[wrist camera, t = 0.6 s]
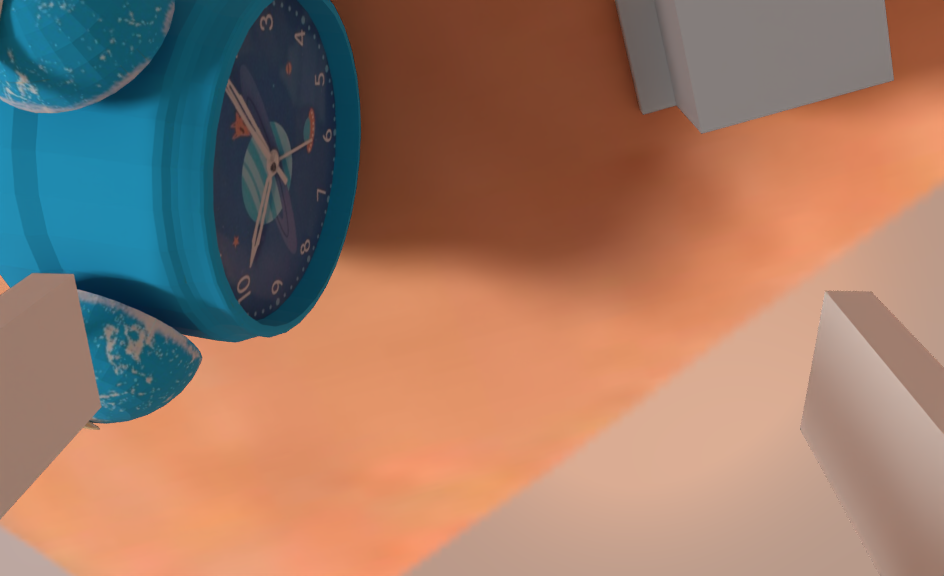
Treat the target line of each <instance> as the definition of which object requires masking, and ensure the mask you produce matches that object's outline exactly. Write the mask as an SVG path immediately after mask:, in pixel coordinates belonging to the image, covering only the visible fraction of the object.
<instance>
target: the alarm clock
mask: <svg viewBox="0 0 944 576" xmlns="http://www.w3.org/2000/svg"><path fill="white" fill-rule="evenodd" d="M360 140H361V118H360V98H359V89H358V79H357V73H356V68H355V63H354V58H353V53H352V49H351V46H350V43H349V40H348V37H347V33H346V30H345V27H344V25H343V23H342V21H341V18H340V16H339V14H338V12H337V10H336V8H335V6H334V5H333V4H332V2H331V1H330V0H0V275H1V276H2V278H3V279H4V280H5V282H6V283H7V284H8V285H9V287H10V288H11V287H13V286H14V285H16V284H17V283H19V282H20V281H22V280H23V279H24V278H26V277H27V276H29V275H30V274H32V273H51V274H74V278H75V283H76V287H77V292H78V297H79V302H80V307H81V311H82V316H83V321H84V326H85V331H86V335H87V340H88V345H89V350H90V355H91V359H92V364H93V369H94V374H95V379H96V384H97V388H98V393H99V398H100V403H101V408H100V409H99V410H98V411H97V412H96V414H95V415H94V416H93V417H92V418H91V419H90V420H89V421H88V422H87V424H86V425H85V426H84V427H83V428H86V429H93V430H99V429H100V428H99V427H98V426H96V425H94V424H93V423H116V422H124V421H130V420H133V419H136V418H139V417H142V416H145V415H148V414H150V413H152V412H154V411H155V410H157V409H159V408H161V407H163V406H164V405H166V404H167V403H169V402H170V401H171V400H172V399H173V398H175V397H176V396H177V395H178V394H179V393H181V392H182V391H183V389H184V388H185V387H186V386H187V384H188V383H189V382H190V381H191V380H192V378H193V377H194V375H195V373H196V371H197V369H198V367H199V365H200V364H201V361H202V356H201V353H200V351H199V350H198V348H197V347H196V346H195V345H194V344H193V343H192V342H191V341H190V340H189V339H187V338H186V337H185V336H184V335H189V336H195V337H200V338H206V339H212V340H217V341H226V342H239V341H243V340H247V339H250V338H254V337H257V336H262V337H272V336H276V335H279V334H282V333H286V332H287V331H289V330H290V329H292V328H293V327H294V326H296V325H297V324H299V323H300V322H301V321H302V320H303V319H304V317H305V316H306V315H307V314H308V313H309V312H310V311H311V309H312V308H313V307H314V306H315V304H316V302H317V301H318V299H319V298H320V296H321V294H322V293H323V291H324V289H325V288H326V286H327V284H328V282H329V280H330V277H331V275H332V273H333V271H334V269H335V267H336V264H337V261H338V259H339V256H340V253H341V250H342V247H343V244H344V242H345V238H346V234H347V230H348V226H349V223H350V219H351V215H352V209H353V204H354V199H355V193H356V188H357V179H358V170H359V161H360ZM182 334H183V335H182Z"/></svg>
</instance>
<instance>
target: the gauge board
mask: <svg viewBox="0 0 944 576" xmlns="http://www.w3.org/2000/svg"><path fill="white" fill-rule="evenodd" d="M615 4H616V8H617V13H618V17H619V21H620V26H621V30H622V34H623V39H624V43H625V47H626V52H627V56H628V60H629V65H630V69H631V73H632V78H633V82H634V86H635V91H636V95H637V100H638V104H639V108H640V111H641V112H642V114H643V115H644V114H648V113H651V112H655V111H658V110H662V109H665V108H669V107H672V106H677V107H678V108H679V109H680V110H681V111H682V112H683V113H684V115H685V116H686V117H687V118H688V119H689V120H690V121H691V122H692V124H693V125H694V126H695V127H696V128H697V129H698V130H699V131H700V132H701V134H703V133H706V132H710V131H713V130H717V129H721V128H724V127H728V126H731V125H735V124H739V123H742V122H746V121H749V120H753V119H757V118H760V117H764V116H767V115H771V114H775V113H778V112H782V111H785V110H789V109H793V108H796V107H800V106H803V105H807V104H811V103H814V102H818V101H821V100H825V99H829V98H832V97H836V96H839V95H843V94H847V93H850V92H854V91H857V90H861V89H865V88H868V87H872V86H875V85H879V84H883V83H886V82H890V81H893V80H894V76H893V68H892V59H891V51H890V42H889V34H888V25H887V17H886V8H885V0H615Z"/></svg>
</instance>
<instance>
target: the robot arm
mask: <svg viewBox="0 0 944 576" xmlns="http://www.w3.org/2000/svg"><path fill="white" fill-rule="evenodd" d="M100 408H101V403H100V398H99V393H98V388H97V384H96V379H95V374H94V369H93V364H92V359H91V355H90V350H89V345H88V340H87V335H86V331H85V326H84V321H83V316H82V311H81V307H80V302H79V297H78V292H77V287H76V283H75V278H74V274H51V273H32V274H30V275H29V276H27V277H26V278H24V279H23V280H22V281H20V282H19V283H17V284H16V285H14V286H13V287H11V288H10V289H8V290H7V291H5V292H4V293H3V294H1V295H0V519H1V518H2V517H3V516H4V515H5V514H6V512H7V511H8V510H9V509H10V508H11V507H12V506H13V505H14V504H15V502H16V501H17V500H18V499H19V498H20V497H21V496H22V495H23V494H24V492H25V491H26V490H27V489H28V488H29V487H30V486H31V485H32V484H33V482H34V481H35V480H36V479H37V478H38V477H39V476H40V475H41V474H42V472H43V471H44V470H45V469H46V468H47V467H48V466H49V465H50V464H51V462H52V461H53V460H54V459H55V458H56V457H57V456H58V455H59V454H60V452H61V451H62V450H63V449H64V448H65V447H66V446H67V445H68V444H69V442H70V441H71V440H72V439H73V438H74V437H75V436H76V435H77V434H78V432H79V431H80V430H81V429H82V428H83V427H84V426H85V425H86V424H87V422H88V421H89V420H90V419H91V418H92V417H93V416H94V415H95V414H96V412H97V411H98V410H99V409H100ZM800 430H801V432H802V434H803V435H804V437H805V439H806V441H807V443H808V445H809V447H810V448H811V450H812V452H813V454H814V456H815V458H816V459H817V461H818V463H819V465H820V467H821V469H822V470H823V472H824V474H825V476H826V478H827V480H828V481H829V483H830V485H831V487H832V489H833V491H834V492H835V494H836V496H837V498H838V500H839V502H840V503H841V505H842V507H843V509H844V511H845V513H846V514H847V516H848V518H849V520H850V522H851V523H852V525H853V527H854V529H855V531H856V533H857V535H858V536H859V538H860V540H861V542H862V544H863V546H864V547H865V549H866V551H867V553H868V555H869V557H870V558H871V560H872V562H873V564H874V566H875V568H876V569H877V571H878V573H879V575H880V576H944V367H943V366H942V365H941V364H940V363H939V362H938V361H937V360H936V359H935V358H934V357H933V356H932V355H931V354H930V353H929V352H928V350H927V349H926V348H925V347H924V346H923V345H922V344H921V343H920V342H919V341H918V340H917V339H916V338H915V337H914V336H913V335H912V334H911V333H910V332H909V331H908V329H907V328H906V327H905V326H904V325H903V324H902V323H901V322H900V321H899V320H898V319H897V318H896V317H895V316H894V315H893V314H892V313H891V312H890V311H889V310H888V308H887V307H886V306H884V304H883V303H882V302H881V301H880V300H879V299H878V298H877V297H876V296H875V295H874V294H873V293H872V292H859V291H825V295H824V300H823V305H822V311H821V316H820V323H819V327H818V333H817V339H816V344H815V350H814V356H813V361H812V367H811V372H810V377H809V383H808V388H807V394H806V400H805V405H804V411H803V416H802V422H801V428H800Z"/></svg>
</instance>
